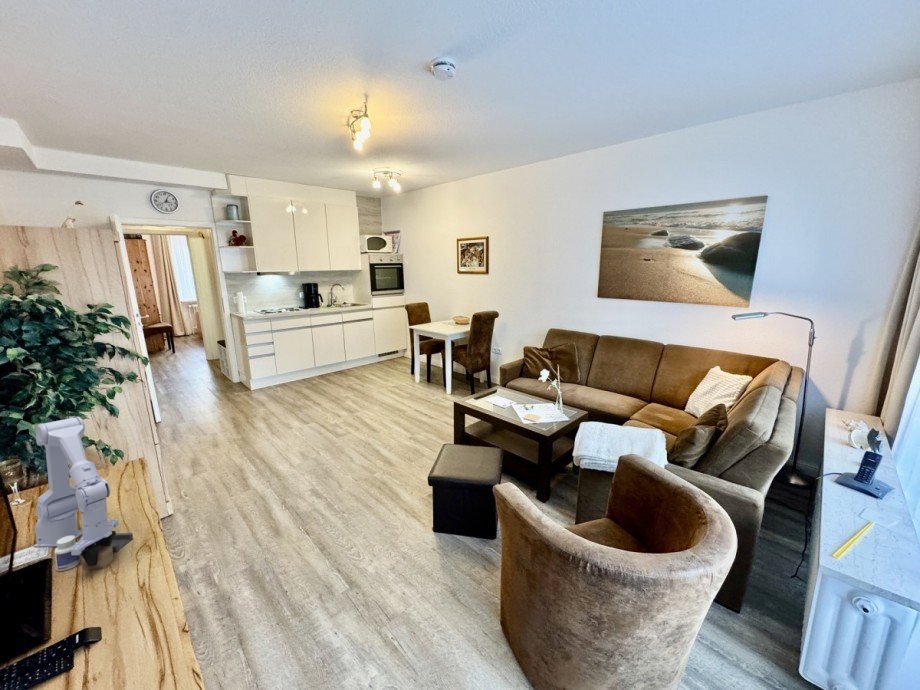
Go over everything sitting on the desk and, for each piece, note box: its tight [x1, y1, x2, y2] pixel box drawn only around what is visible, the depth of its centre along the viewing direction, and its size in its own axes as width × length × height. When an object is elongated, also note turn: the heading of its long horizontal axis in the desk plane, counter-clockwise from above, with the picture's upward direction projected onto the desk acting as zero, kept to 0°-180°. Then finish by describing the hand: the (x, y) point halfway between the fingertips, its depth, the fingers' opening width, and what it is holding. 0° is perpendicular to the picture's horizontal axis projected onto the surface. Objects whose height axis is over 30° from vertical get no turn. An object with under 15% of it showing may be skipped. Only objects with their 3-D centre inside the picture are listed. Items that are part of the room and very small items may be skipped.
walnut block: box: [81, 546, 114, 570], centre depth 116 cm, size 6×4×5 cm, turn 96°
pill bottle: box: [53, 535, 81, 572], centre depth 115 cm, size 5×5×9 cm
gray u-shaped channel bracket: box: [93, 532, 134, 554], centre depth 125 cm, size 10×7×2 cm, turn 96°
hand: (97, 560), depth 116 cm, fingers closed on walnut block, 3 cm apart
